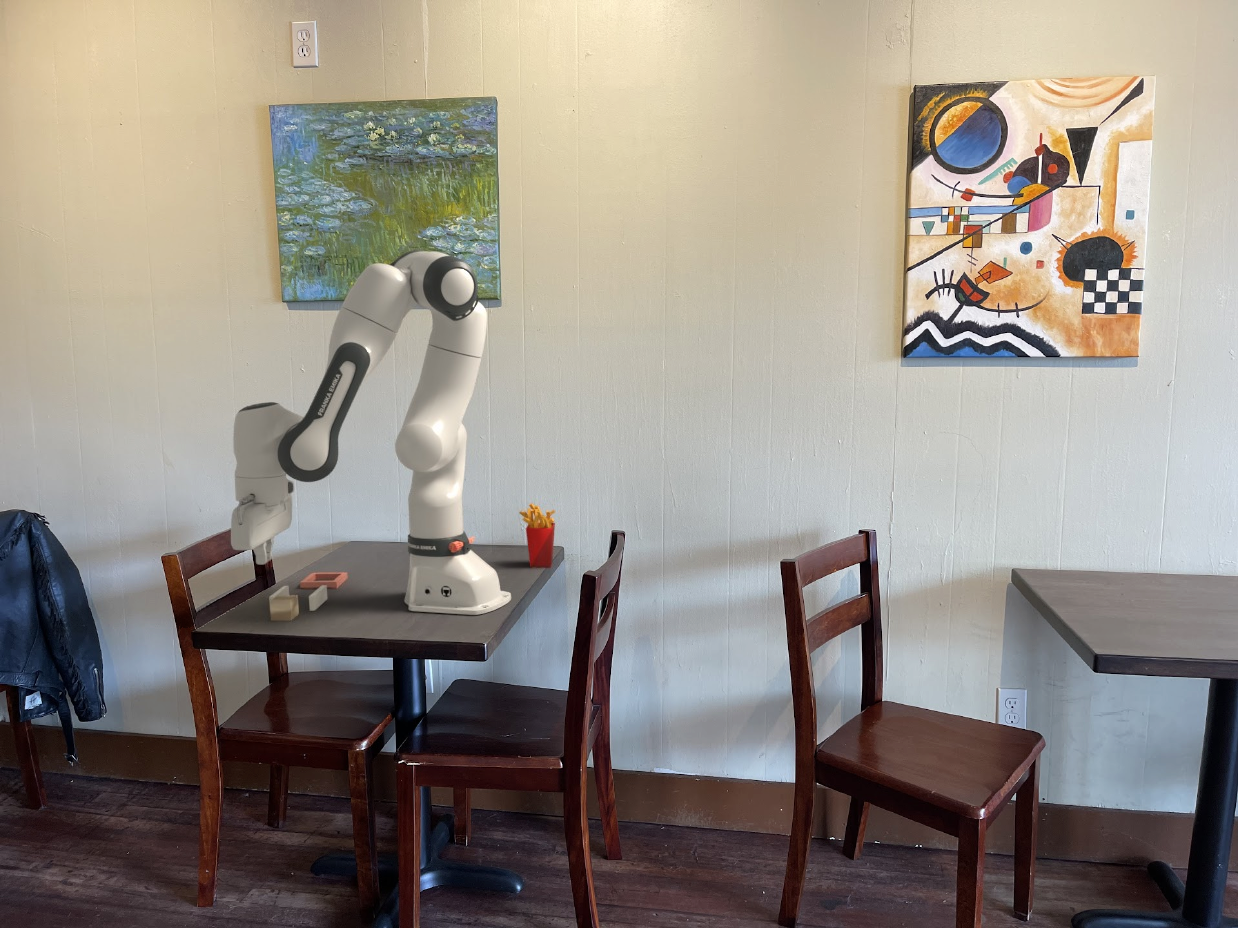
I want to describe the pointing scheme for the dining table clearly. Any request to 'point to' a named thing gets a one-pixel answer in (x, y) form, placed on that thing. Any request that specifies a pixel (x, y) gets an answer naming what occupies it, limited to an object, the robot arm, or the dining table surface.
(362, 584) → the dining table surface
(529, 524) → the french fries
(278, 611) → the beech block
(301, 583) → the frame
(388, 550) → the dining table surface
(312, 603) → the walled lane
